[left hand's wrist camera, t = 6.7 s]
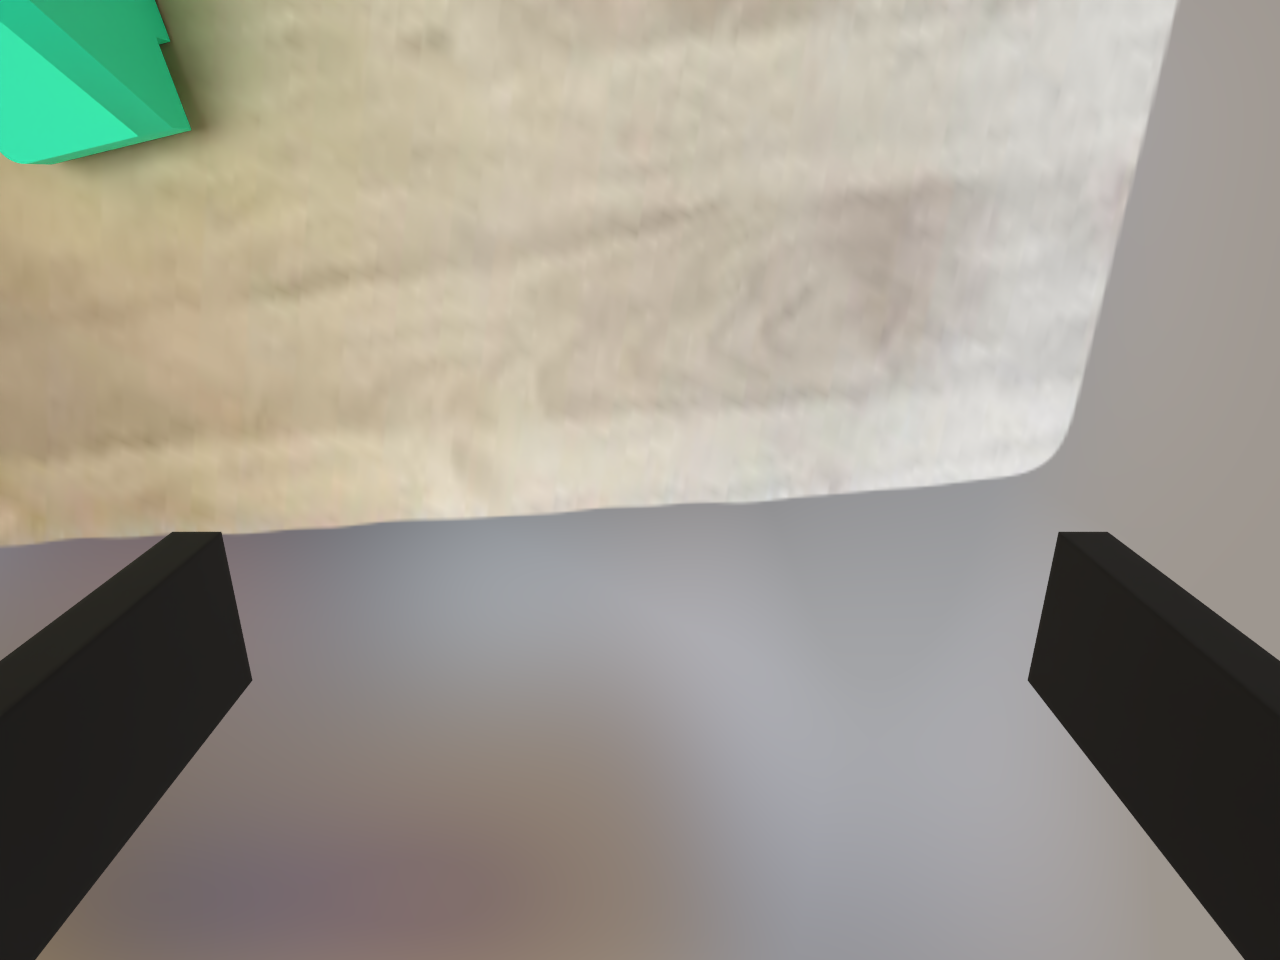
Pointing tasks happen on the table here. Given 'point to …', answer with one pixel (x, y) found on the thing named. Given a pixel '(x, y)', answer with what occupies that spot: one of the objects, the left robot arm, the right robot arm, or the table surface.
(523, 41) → the table surface
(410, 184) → the table surface
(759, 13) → the table surface
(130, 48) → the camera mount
